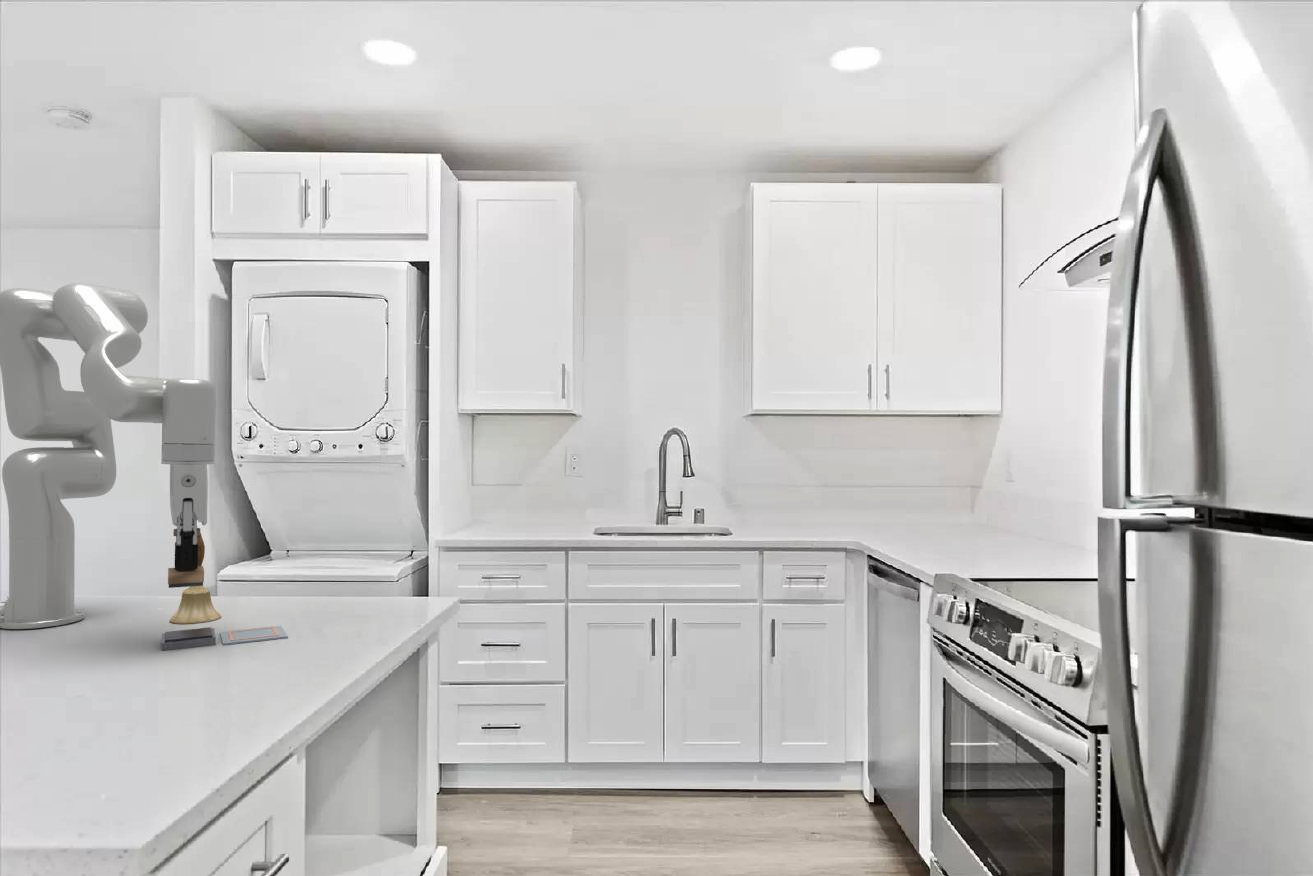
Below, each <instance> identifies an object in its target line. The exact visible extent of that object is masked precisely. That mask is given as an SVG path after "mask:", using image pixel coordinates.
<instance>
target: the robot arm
mask: <svg viewBox="0 0 1313 876" xmlns="http://www.w3.org/2000/svg"><path fill="white" fill-rule="evenodd" d="M148 319H149V314H148V309H147V306H146V304H145V302H144V301H143V300H142V298H141V297H139V296H138V295H137V294H136V293H134V292H132V291H130V290H125V289H121V288H116V287H109V286H102V285H97V284H91V283H84V282H75V283H74V282H72V283H69V284H68V283H67V284H66V285H62V286H60V288H58V289H57V290H56V291H55V292H54V291H48V290H43V289H37V288H36V289H35V288H10V289H9V288H8V289H5V290H3V291H0V373H1V381H2V382H1V383H2V389H3V390H2V391H3V401H4V407H5V416H6V421H7V426H8V429H9V431H10V433H11V434H12V435H13V436H14V437H15V438H17V439H18V440H19V439H20V440H24V441H30V442H33V441H35V442H71V444H72V447H63V446H61V447H60V446H51V447H50V446H49V447H48V446H47V447H44V446H43V447H42V446H40V447H38V446H37V447H28V448H23V449H19V450H17V451H15V452H13V453H11V454H10V455H9V456H7V457H6V459H5V460H4V462H3V465H2V468H1V479H2V484H3V487H4V493H5V495H6V502H7V510H8V539H9V540H8V541H9V542H8V548H9V549H8V551H9V552H8V561H9V562H8V570H9V571H8V598H7V599H6V600H5V601H0V616H1V618H0V628H1V629H5V630H29V629H30V630H31V629H32V630H33V629H39V628H40V629H42V628H51V627H56V626H63V625H67V624H71V623H77V622H79V621H81V620H83V619H84V618H85V615H86V614H85V613H86V612H85V611H84V610H83V609H75V540H76V539H75V537H76V536H75V535H76V534H75V523H74V519H73V517H72V515H71V513H70V512H69V510H68V509H67V508H66V507H65V505H64V504H63V502H62V501H61V500H67V499H70V500H71V499H85V498H95V497H101V496H103V495H106V494H108V493H109V492H110V491H111V490H112V489H113V488H114V485H115V483H116V480H117V460H116V454H115V451H116V450H115V444H114V436H113V427H112V421H115V422H118V423H119V422H120V423H142V424H143V423H145V424H146V423H149V424H150V423H151V424H161V461H160V463H161V464H162V465H169V504H170V506H169V507H170V516H171V521H172V525H173V526H175V527H176V529H177V545H176V541H175V542H174V568H175V570H177V571H178V570H195V569H197V567H198V544H197V528H198V523H201V525H202V526H206V525H207V524H208V493H209V492H208V491H209V490H208V488H209V487H208V485H209V481H208V480H209V477H208V475H209V474H208V465H215V452H216V450H215V447H216V446H215V444H216V442H215V441H216V399H217V395H216V394H217V391H216V387H215V385H214V383H213V382H212V381H209V380H207V379H205V380H204V379H197V378H196V379H195V378H159V377H150V376H140V375H138V376H137V375H124V374H123V373H121V372H120V371H119V370H118V368H122V367H124V366H125V365H128V364H129V363H131V362H132V361H133V360H135V358H136V357H137V356H138V355H139V353H140V351H141V348H142V345H143V344H142V338H141V335H140V334H141V333H142V331H144V329H145V328H146V326H147V323H148ZM39 338H45V339H52V340H61V341H70V342H75V343H76V344H77V345H78V346H79V348H80V349H81V350H82V351H83V353H84V356H83V357H82V360H81V363H80V368H79V369H80V370H79V372H80V373H79V374H80V375H79V376H80V381H81V382H80V383H81V386H82V389H83V391H80V390H79V391H78V390H65V389H64V388H63V386H62V383H61V374H60V368H59V365H58V362H57V361H56V359H55V358H54V356H53V354H52V353H51V352H50V351H49V349H48V348H47V347H46V346H44V345H43V344H42V343H41V342H40V340H39ZM181 529H183V530H181Z"/></svg>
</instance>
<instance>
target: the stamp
mask: <svg viewBox="0 0 1313 876" xmlns="http://www.w3.org/2000/svg"><path fill="white" fill-rule="evenodd" d="M181 530H183V529H181ZM172 533H173V537H175V542H176V545H177V528H174V529H173V532H172ZM200 533H201V528H200V527H197V536H198V535H200ZM167 570H168V571H167V574H168V575H167V585H168V588H169V589H170V588H171V589H172V588H189V587H191V586H203V587H204V583H205V569H204V566H203V565H202V566H199V567H197V569H195V570H178V571H177V570H175V567H168V568H167Z"/></svg>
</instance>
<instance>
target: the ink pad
mask: <svg viewBox="0 0 1313 876" xmlns="http://www.w3.org/2000/svg"><path fill="white" fill-rule="evenodd" d="M160 642H161V647H160V648H161V649H160V651H173V650H179V649H189V648H197V647H198V648H200V647H209V646H215V645H217V637H216V632H215V628H212V627H202V628H201V627H200V628H191V629H190V628H189V629H181V630H171V631H165V632H164V633H161V641H160Z"/></svg>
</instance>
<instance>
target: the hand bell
mask: <svg viewBox="0 0 1313 876" xmlns="http://www.w3.org/2000/svg"><path fill="white" fill-rule="evenodd" d="M197 544H198V567H199V566H203V561H204V558H205V555H206V554H205V551H206V547H205V542H204V539H203V536H202V533H201V532H200V535H198V536H197ZM213 604H214V603H213V602H212V598H211V590H210V589H209V588H207V587H205V586H204V585H203V586H190V587H187V589H184V590H182V592H181V600H180V603H179V606H178V609H177V610H176V612H175V613H174V614H173V615H172V616H171V617H170V618H169V622H170V623H172V624H174V625H175V624H176V625H191V624H193V625H194V624H203V623H204V624H205V623H208V622H209V623H210V622H215V621H218V620H220V619H221V618H222V615H221V613H220V612H218V611H217V609H216V608H215V607H214V605H213Z"/></svg>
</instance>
